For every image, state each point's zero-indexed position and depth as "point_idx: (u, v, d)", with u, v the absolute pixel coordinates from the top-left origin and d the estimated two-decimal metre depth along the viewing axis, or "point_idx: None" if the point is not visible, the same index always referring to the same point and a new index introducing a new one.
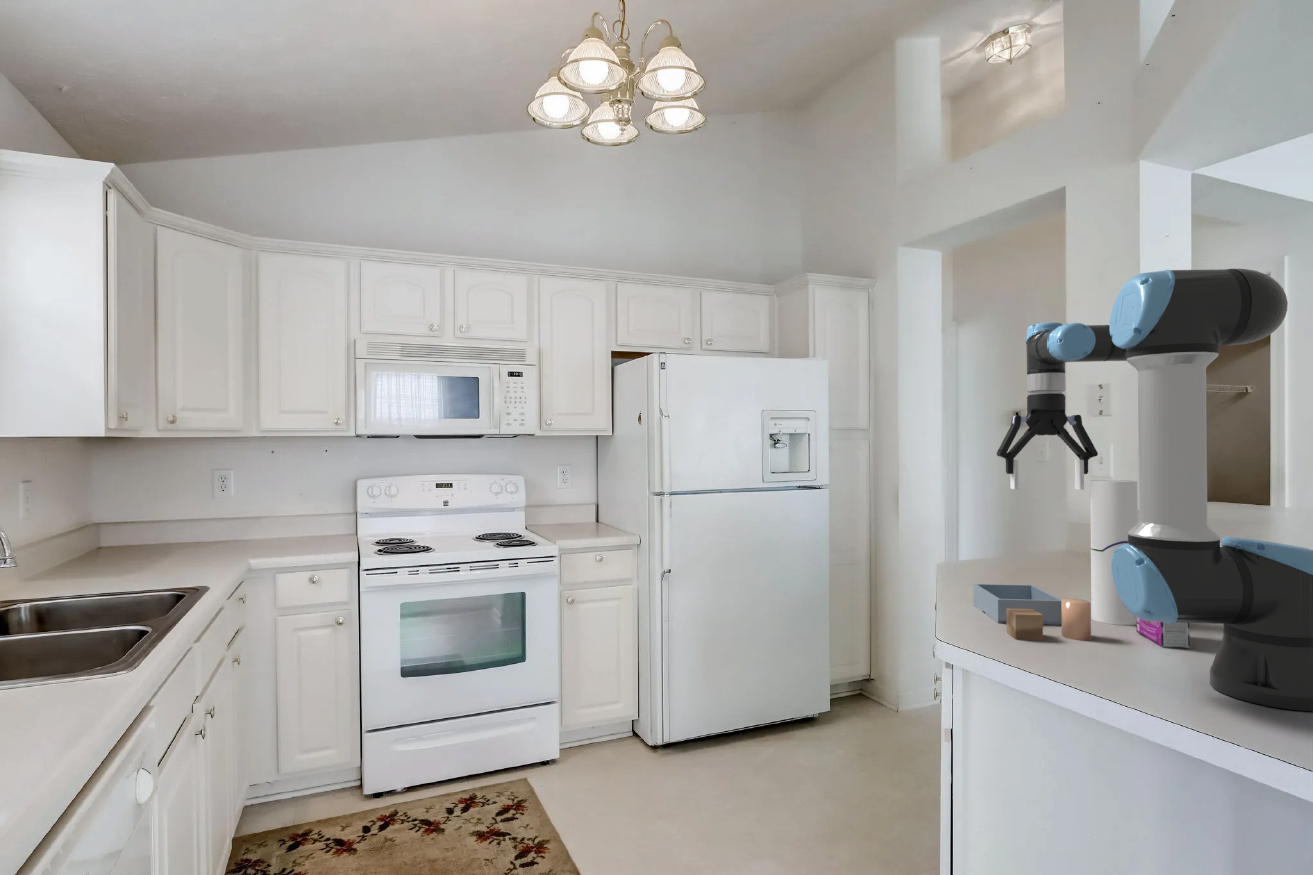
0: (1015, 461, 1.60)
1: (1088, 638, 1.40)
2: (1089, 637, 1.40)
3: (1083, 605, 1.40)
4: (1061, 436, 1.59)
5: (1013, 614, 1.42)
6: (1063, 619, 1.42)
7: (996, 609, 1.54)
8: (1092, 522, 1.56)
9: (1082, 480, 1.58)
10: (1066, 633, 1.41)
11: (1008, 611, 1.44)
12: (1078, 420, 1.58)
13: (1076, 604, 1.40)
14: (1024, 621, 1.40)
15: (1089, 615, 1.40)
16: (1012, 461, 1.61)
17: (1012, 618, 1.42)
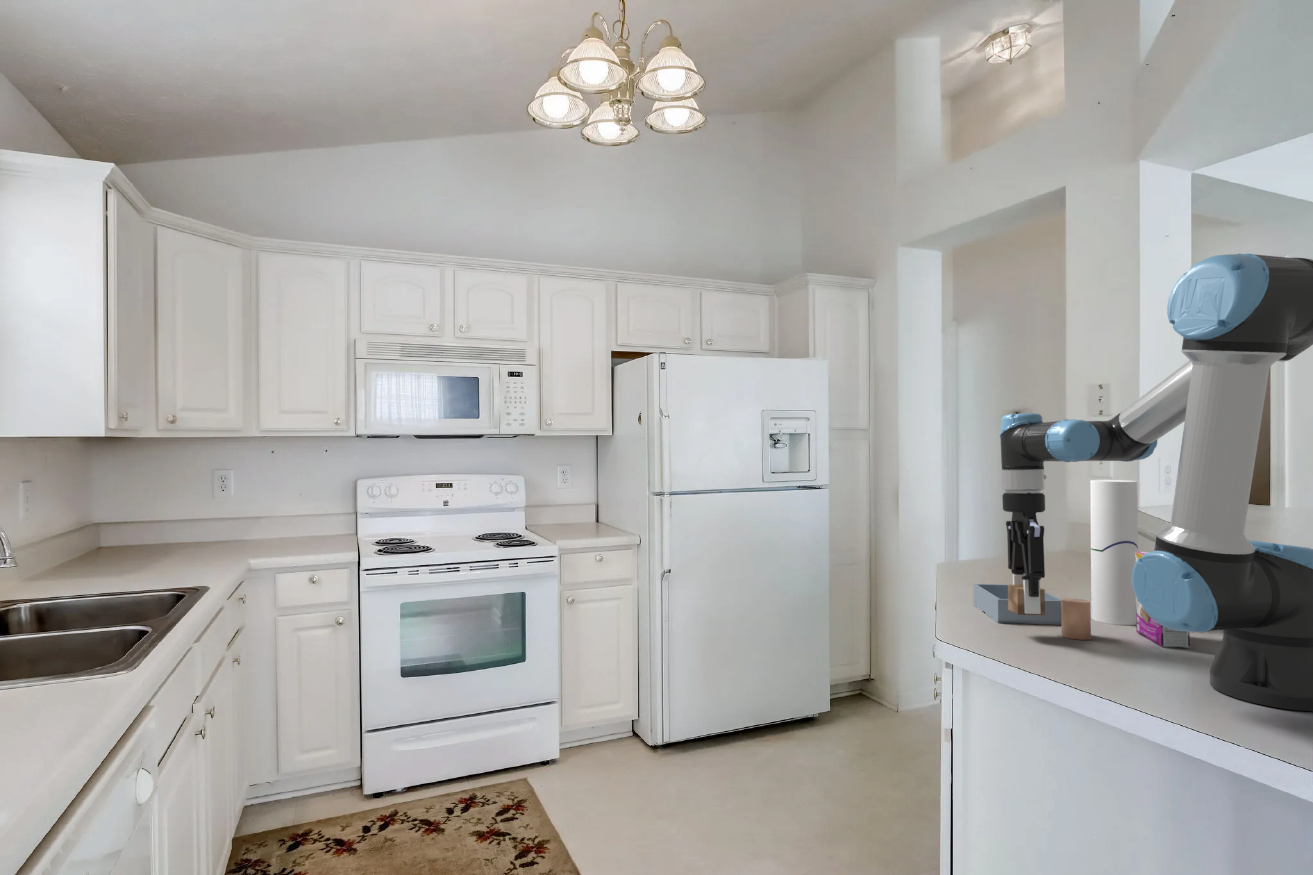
0: (1013, 576, 1.45)
1: (1088, 637, 1.40)
2: (1089, 636, 1.40)
3: (1083, 604, 1.40)
4: None
5: (1015, 589, 1.41)
6: (1063, 619, 1.42)
7: (996, 609, 1.54)
8: (1092, 522, 1.56)
9: (1024, 602, 1.39)
10: (1066, 633, 1.41)
11: (1010, 587, 1.44)
12: (1029, 532, 1.37)
13: (1076, 603, 1.40)
14: None
15: (1088, 615, 1.40)
16: None
17: (1014, 593, 1.42)
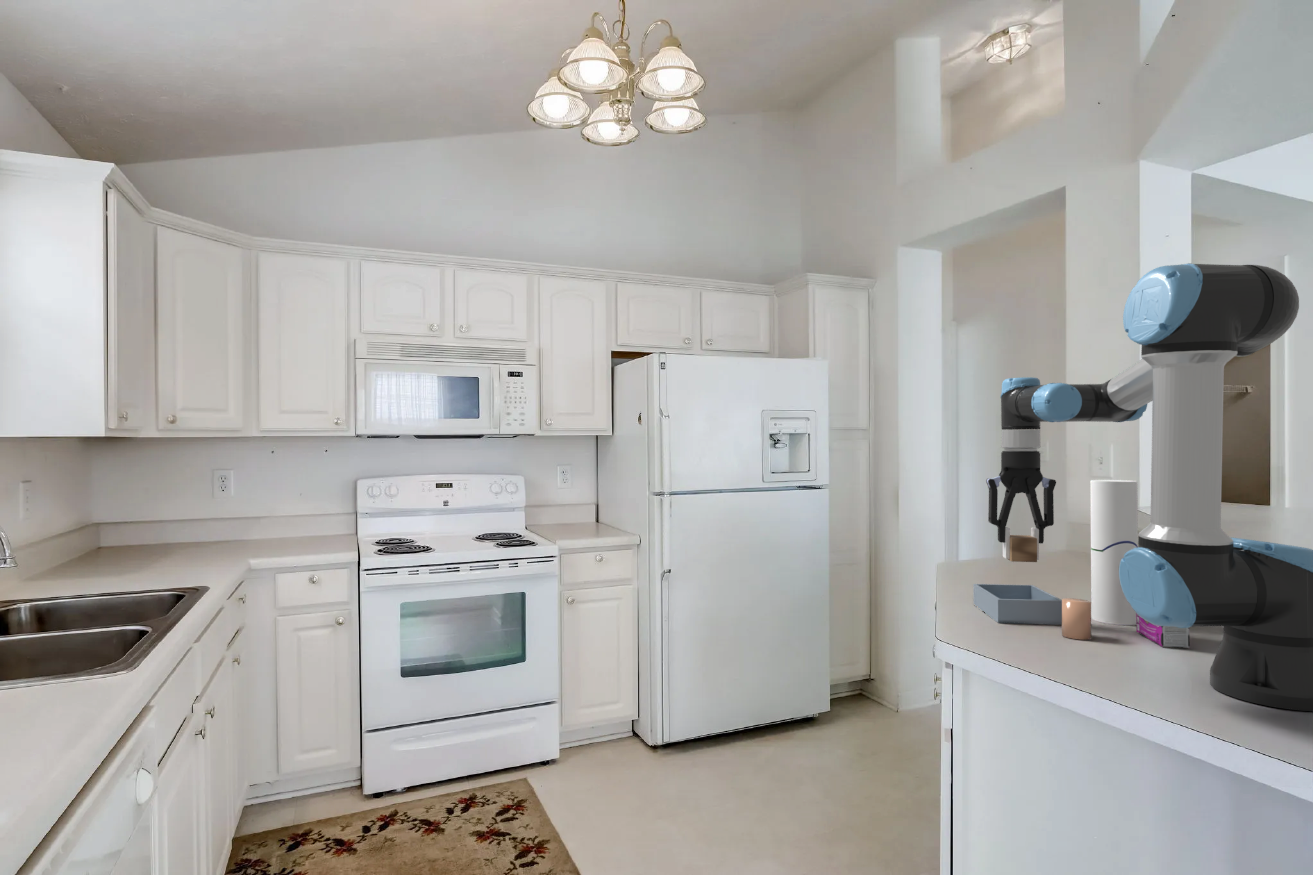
0: (1007, 530, 1.54)
1: (1088, 637, 1.40)
2: (1089, 636, 1.40)
3: (1084, 604, 1.40)
4: (1029, 496, 1.54)
5: (1031, 539, 1.52)
6: (1064, 618, 1.42)
7: (996, 609, 1.54)
8: (1092, 522, 1.56)
9: (1037, 550, 1.53)
10: (1067, 633, 1.41)
11: (1017, 539, 1.53)
12: (1051, 485, 1.53)
13: (1077, 603, 1.40)
14: None
15: (1089, 615, 1.40)
16: (1004, 529, 1.55)
17: (1028, 543, 1.52)
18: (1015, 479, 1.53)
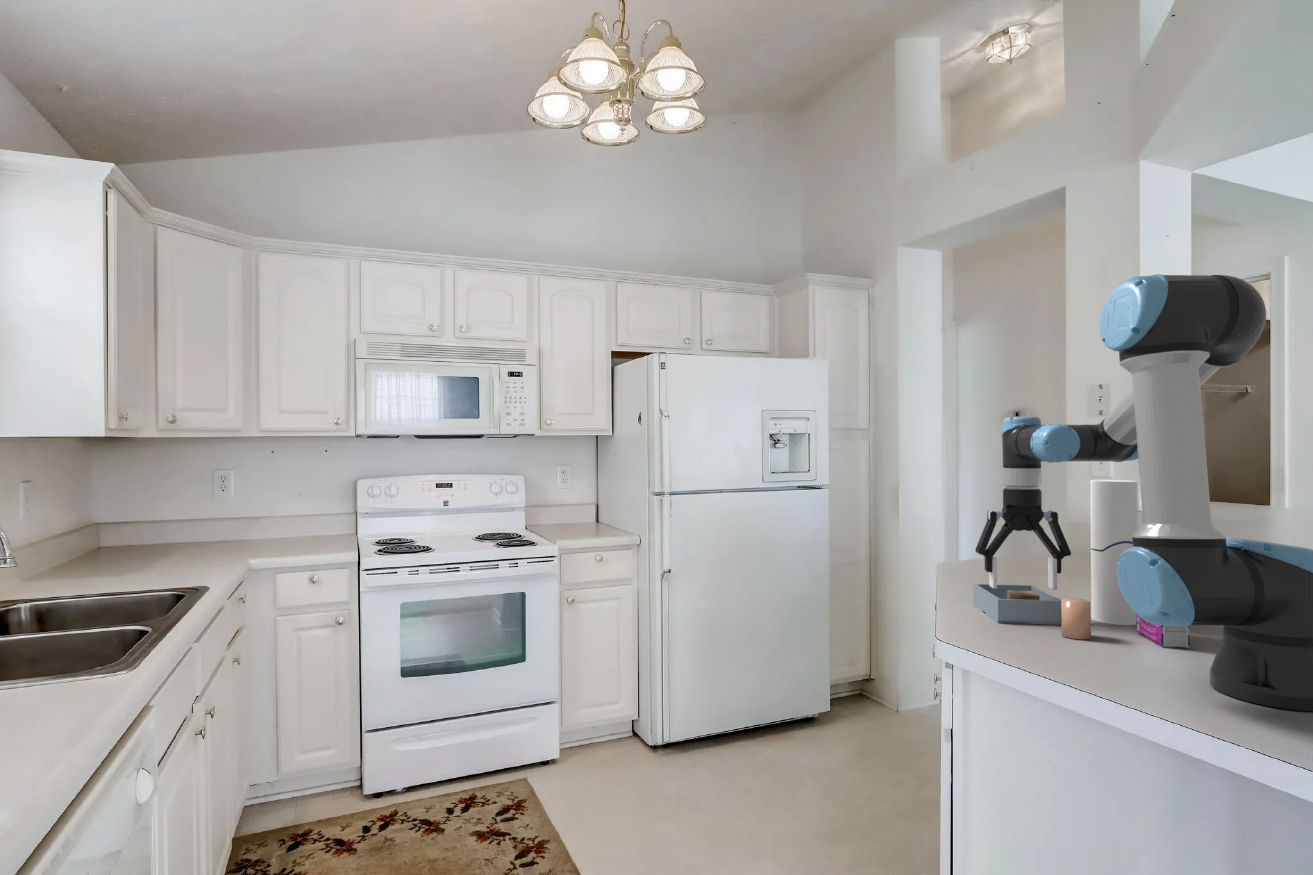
0: (994, 559, 1.56)
1: (1089, 637, 1.40)
2: (1090, 636, 1.40)
3: (1084, 604, 1.40)
4: (1036, 532, 1.56)
5: (1033, 597, 1.54)
6: (1064, 618, 1.42)
7: (996, 609, 1.54)
8: (1092, 522, 1.56)
9: (1055, 580, 1.55)
10: (1068, 633, 1.41)
11: (1020, 596, 1.54)
12: (1054, 517, 1.55)
13: (1077, 603, 1.40)
14: None
15: (1089, 614, 1.40)
16: (991, 559, 1.57)
17: None
18: (1018, 516, 1.55)
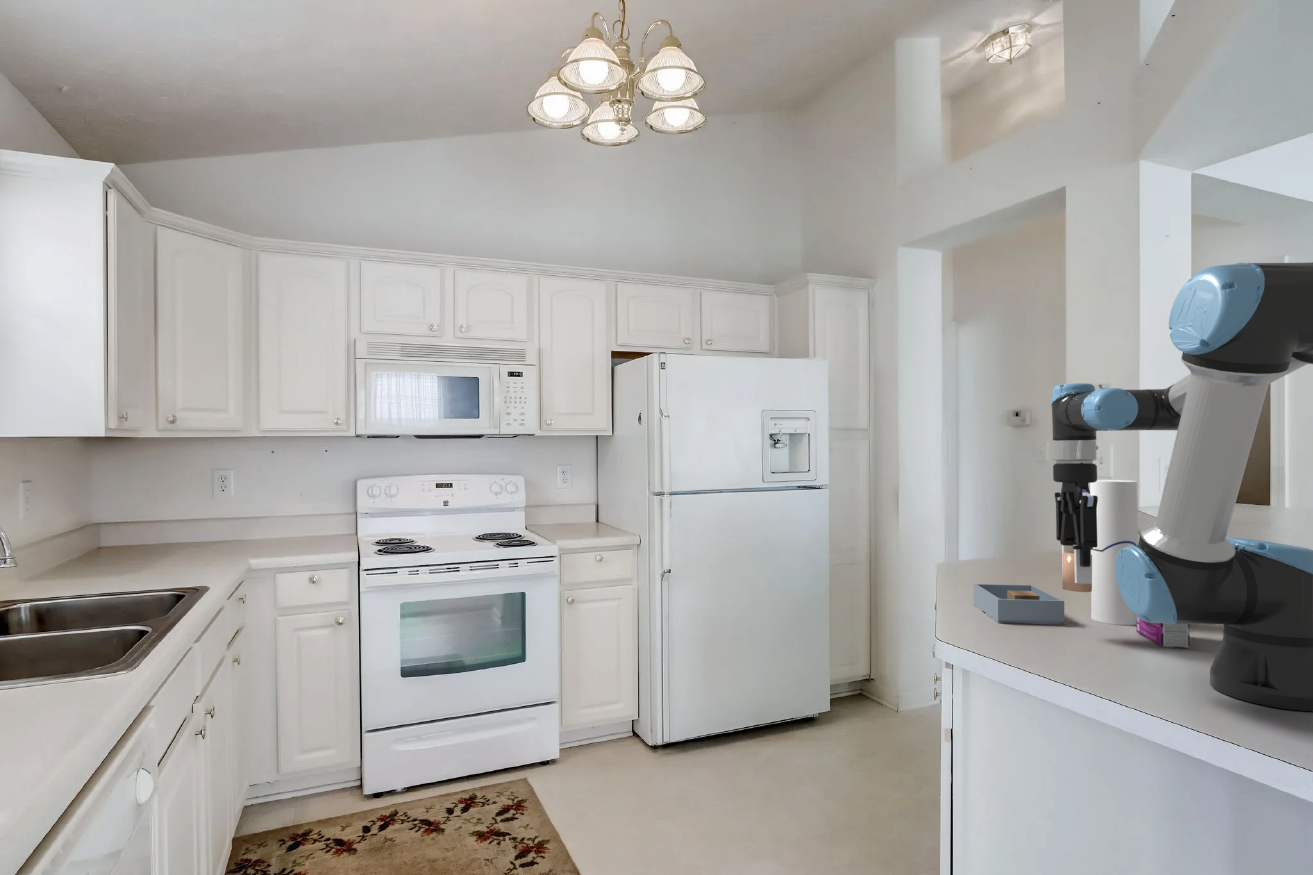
0: (1062, 547, 1.45)
1: (1091, 590, 1.40)
2: (1091, 589, 1.40)
3: None
4: None
5: (1033, 597, 1.54)
6: (1068, 572, 1.41)
7: (996, 609, 1.54)
8: None
9: (1075, 572, 1.39)
10: (1072, 586, 1.40)
11: (1020, 596, 1.54)
12: (1082, 501, 1.37)
13: None
14: None
15: (1091, 567, 1.40)
16: None
17: None
18: (1061, 493, 1.44)
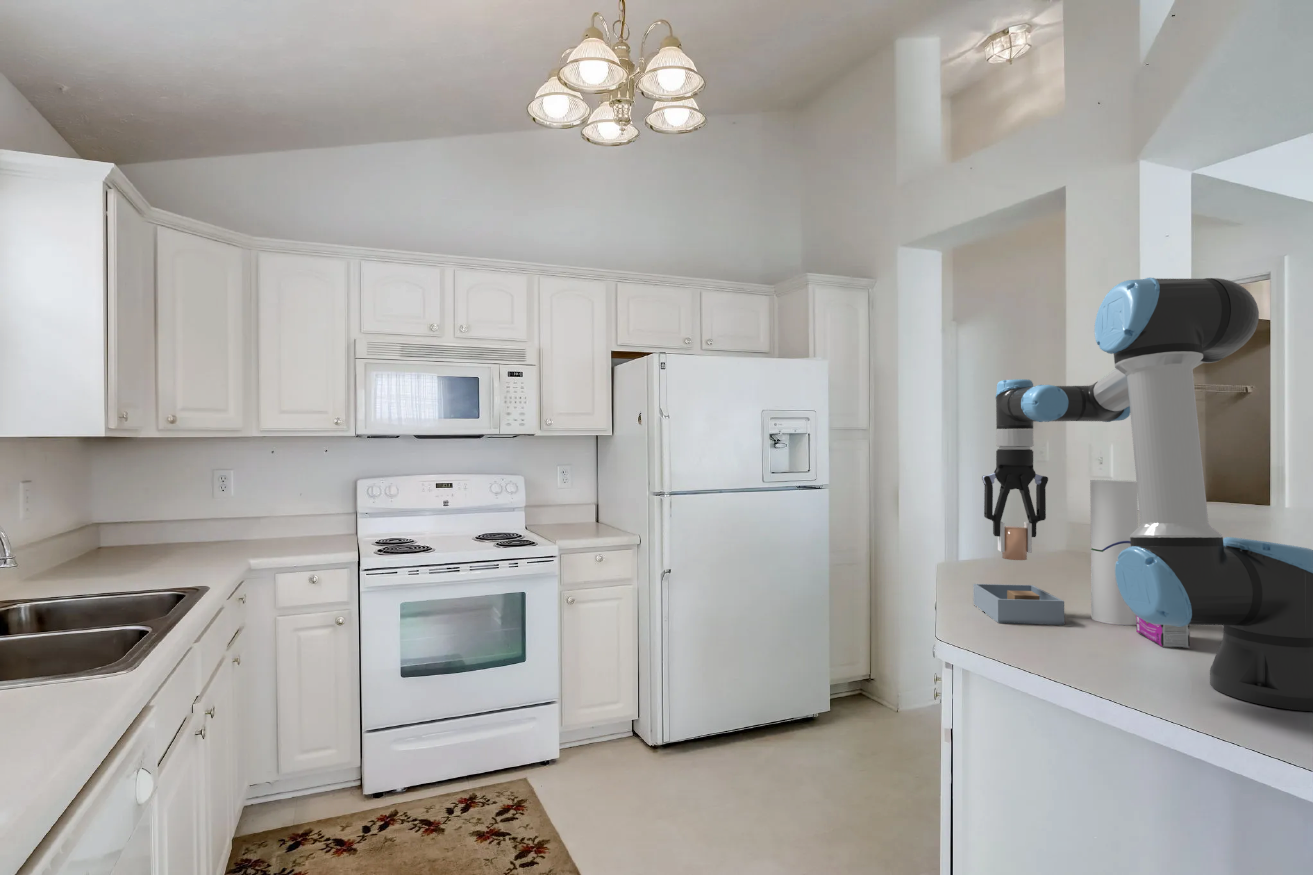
0: (1002, 524, 1.62)
1: None
2: None
3: None
4: (1022, 492, 1.62)
5: (1033, 597, 1.54)
6: (1023, 544, 1.61)
7: (996, 609, 1.54)
8: (1092, 522, 1.56)
9: (1030, 543, 1.61)
10: (1025, 556, 1.61)
11: (1020, 596, 1.54)
12: (1044, 481, 1.61)
13: None
14: None
15: None
16: (999, 524, 1.63)
17: None
18: (1009, 476, 1.61)
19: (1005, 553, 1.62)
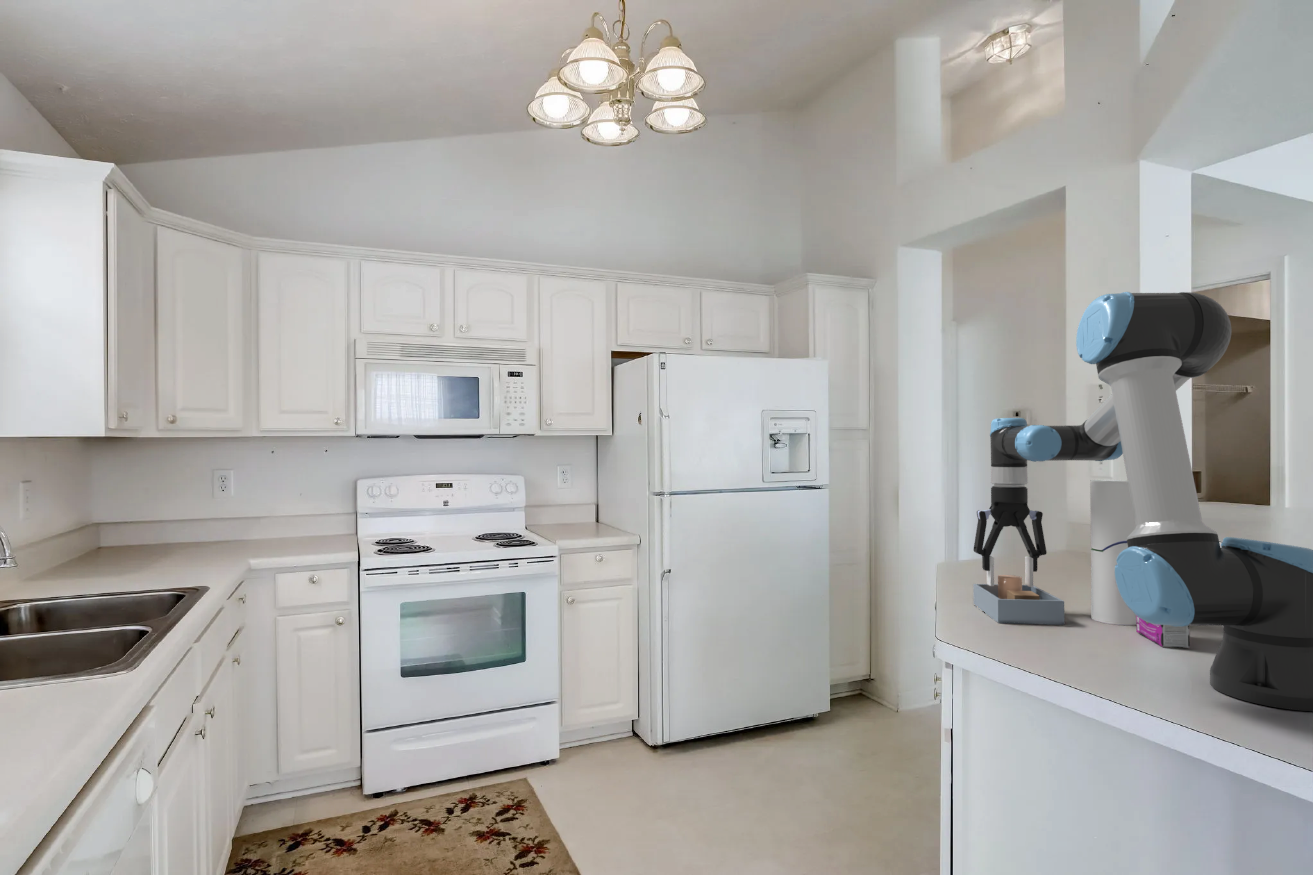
0: (991, 559, 1.64)
1: None
2: None
3: None
4: (1019, 529, 1.64)
5: (1033, 597, 1.54)
6: None
7: (996, 609, 1.54)
8: (1092, 522, 1.56)
9: (1031, 578, 1.63)
10: None
11: (1020, 596, 1.54)
12: (1039, 517, 1.63)
13: None
14: None
15: None
16: (988, 558, 1.65)
17: None
18: (1005, 513, 1.63)
19: None
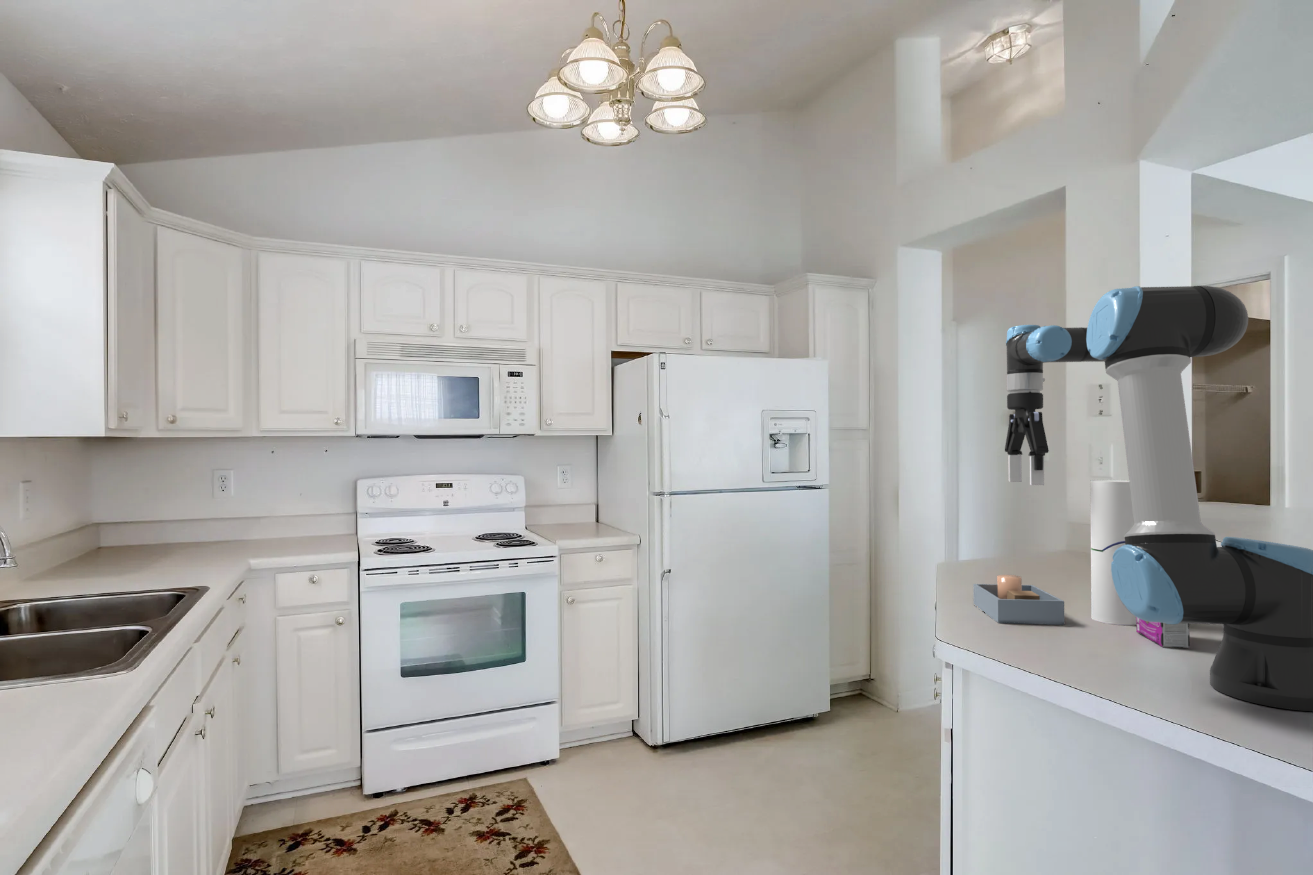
0: None
1: None
2: None
3: None
4: None
5: (1033, 597, 1.54)
6: None
7: (996, 609, 1.54)
8: (1092, 522, 1.56)
9: (1030, 476, 1.62)
10: None
11: (1020, 596, 1.54)
12: (1029, 417, 1.62)
13: None
14: None
15: None
16: None
17: None
18: (1014, 419, 1.70)
19: None
